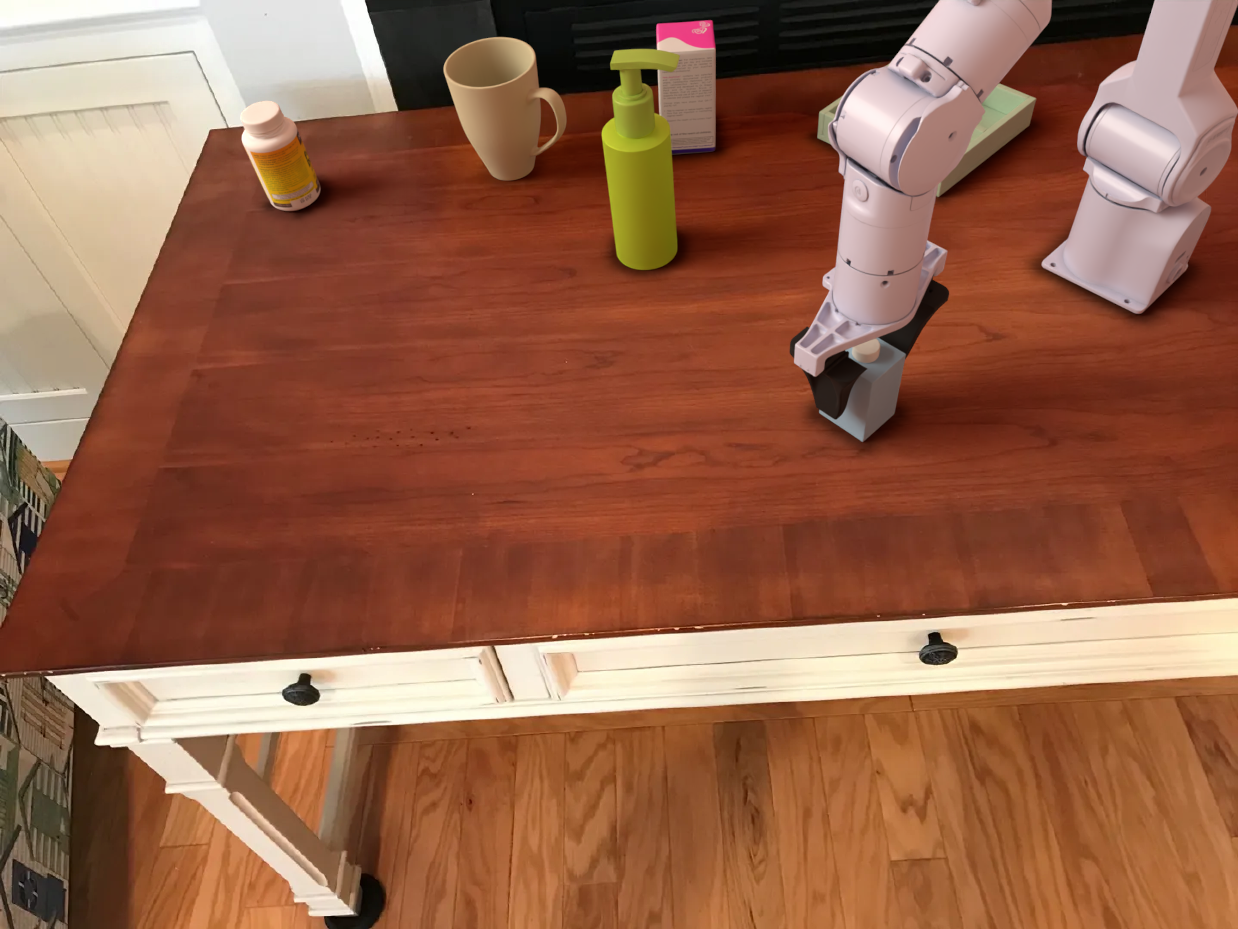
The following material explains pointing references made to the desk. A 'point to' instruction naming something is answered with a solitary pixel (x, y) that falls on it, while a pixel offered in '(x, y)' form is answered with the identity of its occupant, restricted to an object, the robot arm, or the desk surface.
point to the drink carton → (872, 388)
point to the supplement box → (689, 85)
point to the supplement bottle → (279, 157)
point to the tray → (997, 127)
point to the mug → (501, 103)
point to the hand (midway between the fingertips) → (860, 383)
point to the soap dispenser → (640, 164)
